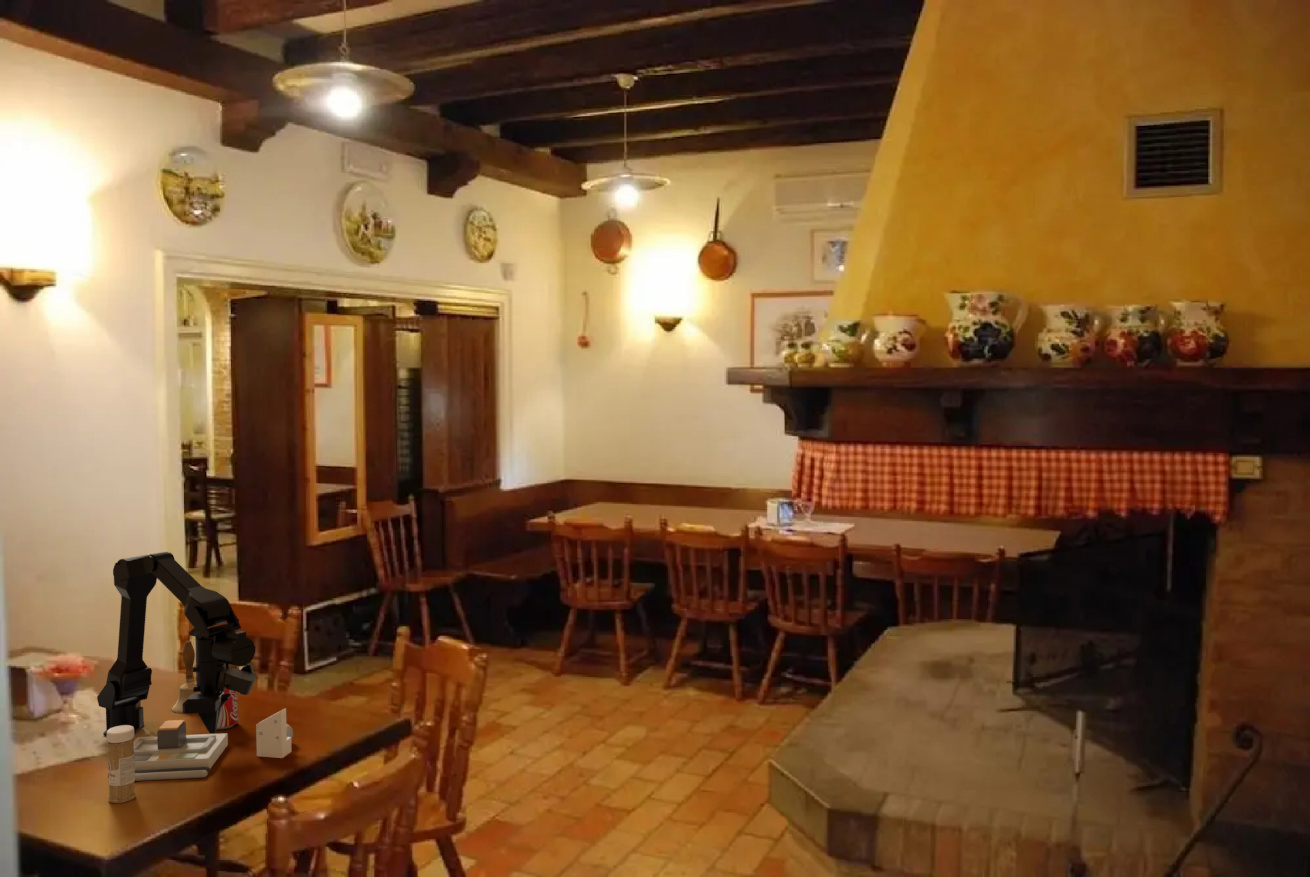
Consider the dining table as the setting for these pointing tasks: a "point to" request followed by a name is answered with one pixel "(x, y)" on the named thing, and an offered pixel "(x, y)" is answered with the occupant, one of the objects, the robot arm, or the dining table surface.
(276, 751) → the white wedge bracket
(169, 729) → the block
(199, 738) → the grey slotted tray
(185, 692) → the hand bell
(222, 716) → the beverage can
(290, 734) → the garlic
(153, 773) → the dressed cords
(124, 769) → the sprinkles bottle
